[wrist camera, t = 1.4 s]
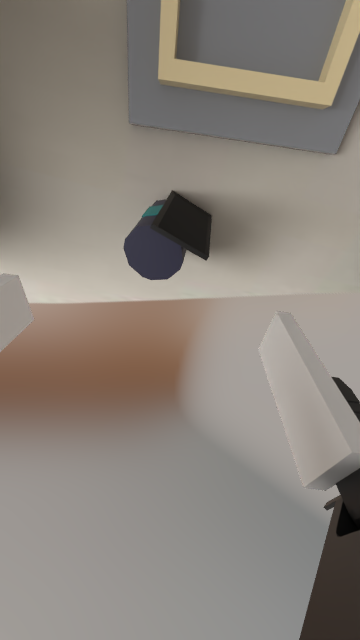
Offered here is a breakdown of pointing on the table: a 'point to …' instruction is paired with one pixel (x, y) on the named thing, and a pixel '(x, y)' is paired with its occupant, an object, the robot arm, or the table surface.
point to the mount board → (246, 69)
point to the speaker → (168, 237)
